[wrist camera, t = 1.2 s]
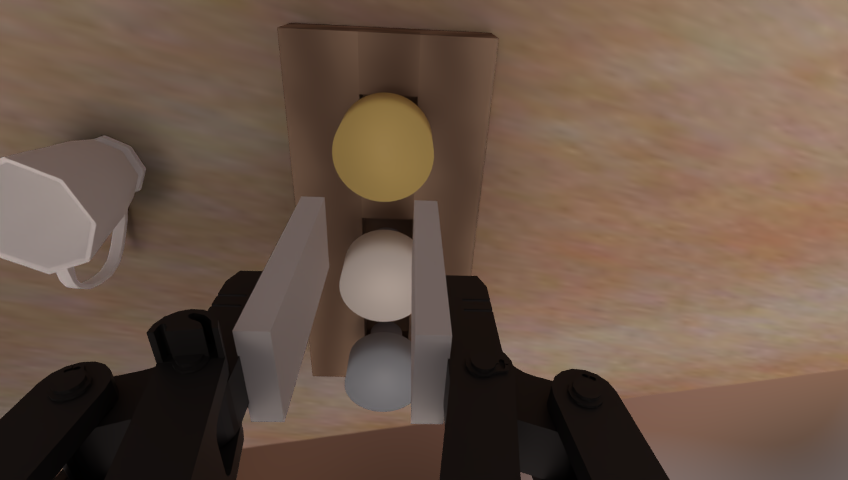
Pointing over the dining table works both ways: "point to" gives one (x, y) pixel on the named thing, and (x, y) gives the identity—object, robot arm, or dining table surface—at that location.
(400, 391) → the slate button
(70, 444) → the robot arm
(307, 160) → the panel
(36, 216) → the cup
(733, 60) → the dining table surface
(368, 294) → the cream button
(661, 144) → the dining table surface
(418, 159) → the mustard button
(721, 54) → the dining table surface
